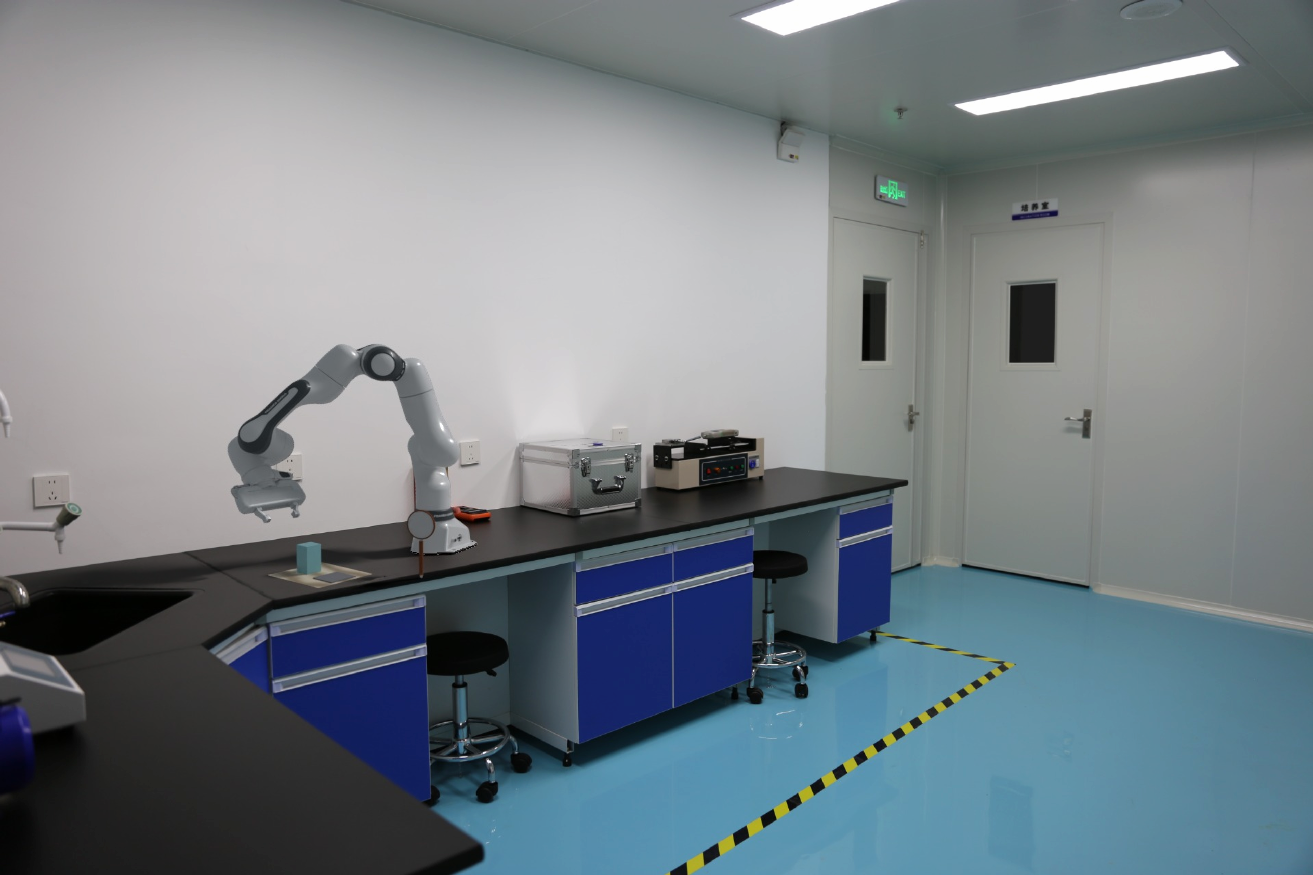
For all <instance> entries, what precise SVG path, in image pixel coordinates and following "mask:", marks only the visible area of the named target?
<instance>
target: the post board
mask: <svg viewBox="0 0 1313 875" xmlns="http://www.w3.org/2000/svg"><path fill="white" fill-rule="evenodd" d="M333 572H341V573H345V574H349V575H353V576H356V577H354V578H350V579H347V580H343V581H339V582H335V583H328V582H324V581H320V580H316V579H313V577H317V576H321V575H325V574H329V573H333ZM371 575H372V573H371V572H366V571H361V570H357V569H353V568H349V567H343V566H341V565H335V564H331V563H326V562H322V561H321V571H320V572H316V573H312V574H308V575H307V574H302V573H298V572H297V567H296V568H292V569H288V570H284V571H280V572H275V573H272V574H268V576H270V577H274V578H277V579H281V580H285V581H288V582H293V583H297V584H301V585H304V586H309V587H312V588H316V589H320V588H324V587H328V586H332V585H337V584H340V583H344V582H347V581H351V580H356V579H359V578H363V577H366V576H371Z"/></svg>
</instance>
